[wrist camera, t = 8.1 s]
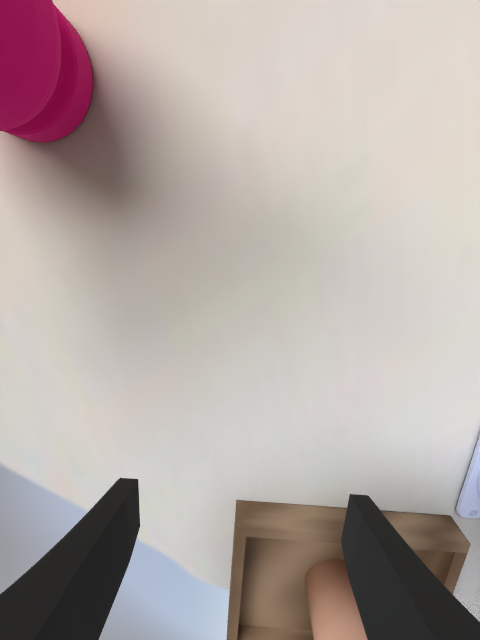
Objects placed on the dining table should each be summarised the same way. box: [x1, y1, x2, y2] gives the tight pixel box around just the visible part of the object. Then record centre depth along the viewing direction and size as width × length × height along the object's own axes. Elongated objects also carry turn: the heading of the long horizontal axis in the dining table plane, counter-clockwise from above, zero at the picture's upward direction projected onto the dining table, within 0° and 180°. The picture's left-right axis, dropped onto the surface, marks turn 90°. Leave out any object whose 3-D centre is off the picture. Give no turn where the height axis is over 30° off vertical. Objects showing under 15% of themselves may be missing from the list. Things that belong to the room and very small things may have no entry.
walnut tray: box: [227, 500, 470, 640], centre depth 24 cm, size 16×13×2 cm
